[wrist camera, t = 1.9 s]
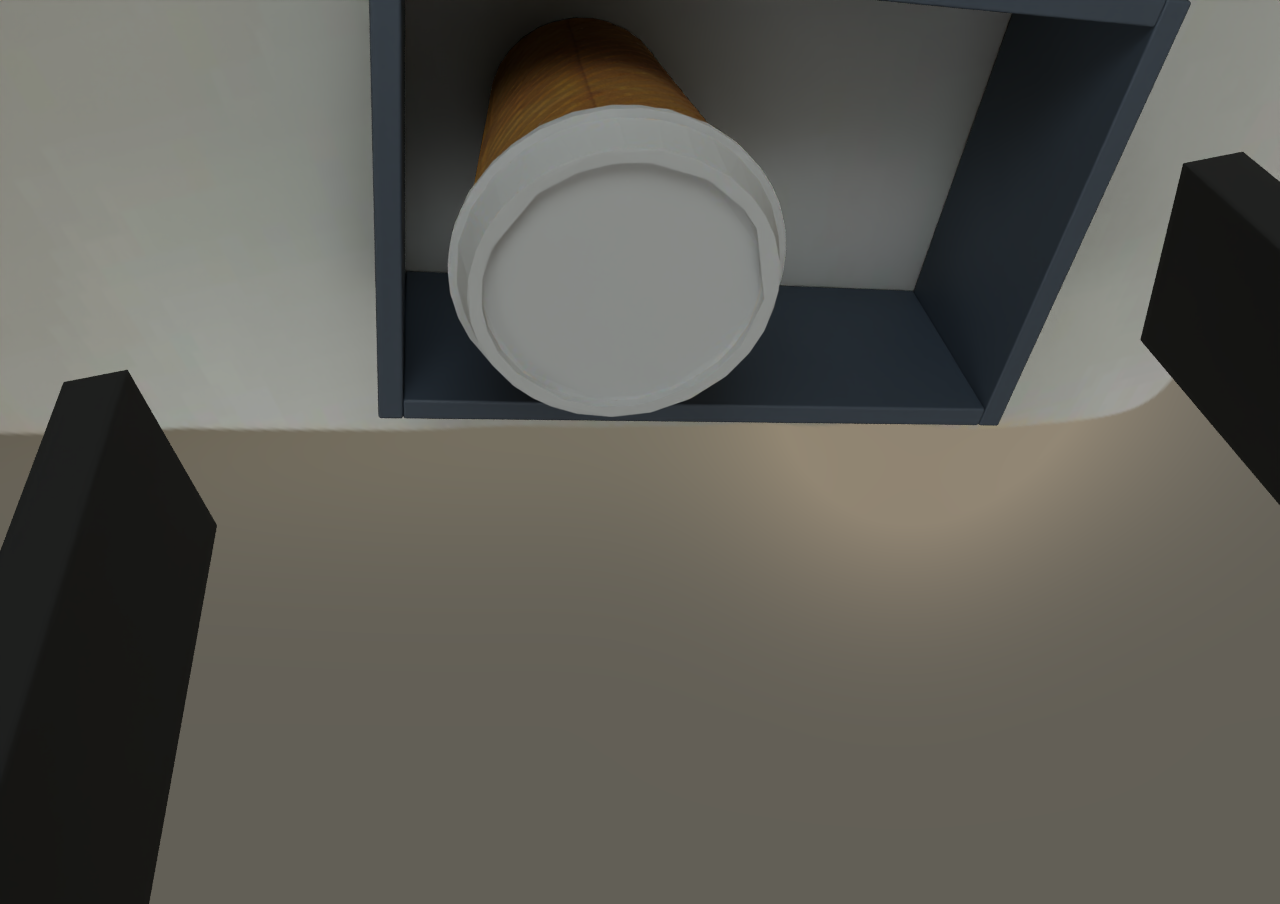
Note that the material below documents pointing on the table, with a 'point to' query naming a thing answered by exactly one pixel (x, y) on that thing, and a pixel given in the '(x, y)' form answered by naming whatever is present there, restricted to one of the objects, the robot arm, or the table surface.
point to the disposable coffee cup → (610, 230)
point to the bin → (841, 317)
